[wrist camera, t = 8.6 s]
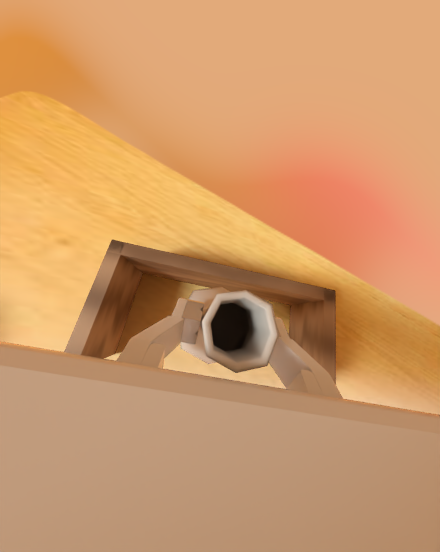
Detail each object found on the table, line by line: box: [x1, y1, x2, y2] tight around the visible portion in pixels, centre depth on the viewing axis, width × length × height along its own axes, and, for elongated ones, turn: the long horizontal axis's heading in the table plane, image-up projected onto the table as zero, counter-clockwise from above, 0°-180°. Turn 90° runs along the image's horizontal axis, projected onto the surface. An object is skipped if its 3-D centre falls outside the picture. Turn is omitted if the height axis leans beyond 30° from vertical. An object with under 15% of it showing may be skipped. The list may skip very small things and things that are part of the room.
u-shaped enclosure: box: [64, 240, 336, 385], centre depth 23 cm, size 14×29×8 cm, turn 79°
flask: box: [180, 287, 279, 373], centre depth 11 cm, size 7×7×10 cm
